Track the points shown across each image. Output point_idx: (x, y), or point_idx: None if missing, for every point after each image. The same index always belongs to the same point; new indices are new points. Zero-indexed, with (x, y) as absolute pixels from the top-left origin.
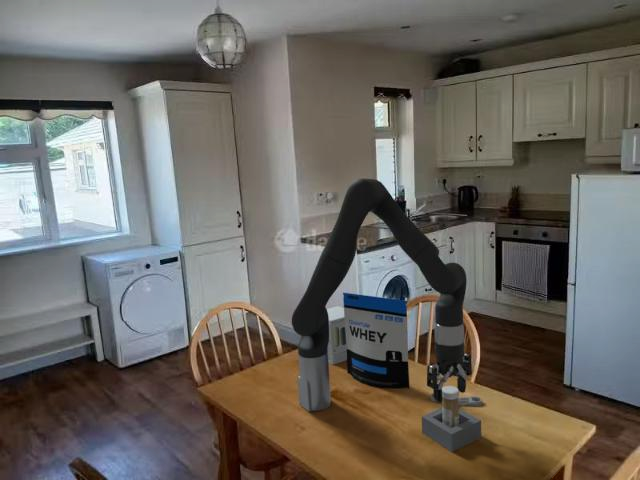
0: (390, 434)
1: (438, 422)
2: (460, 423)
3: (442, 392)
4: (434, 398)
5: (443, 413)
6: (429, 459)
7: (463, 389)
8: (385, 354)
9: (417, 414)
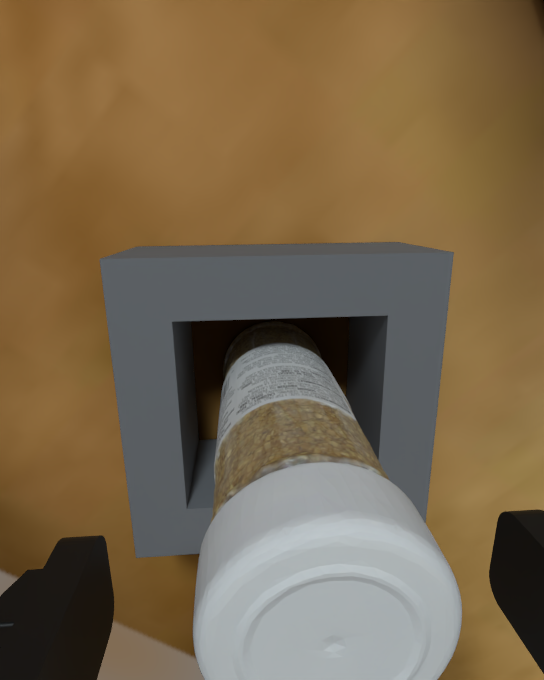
0: None
1: (161, 407)
2: (360, 386)
3: (198, 596)
4: (17, 591)
5: (218, 428)
6: (13, 463)
7: (520, 636)
8: None
9: (273, 19)
